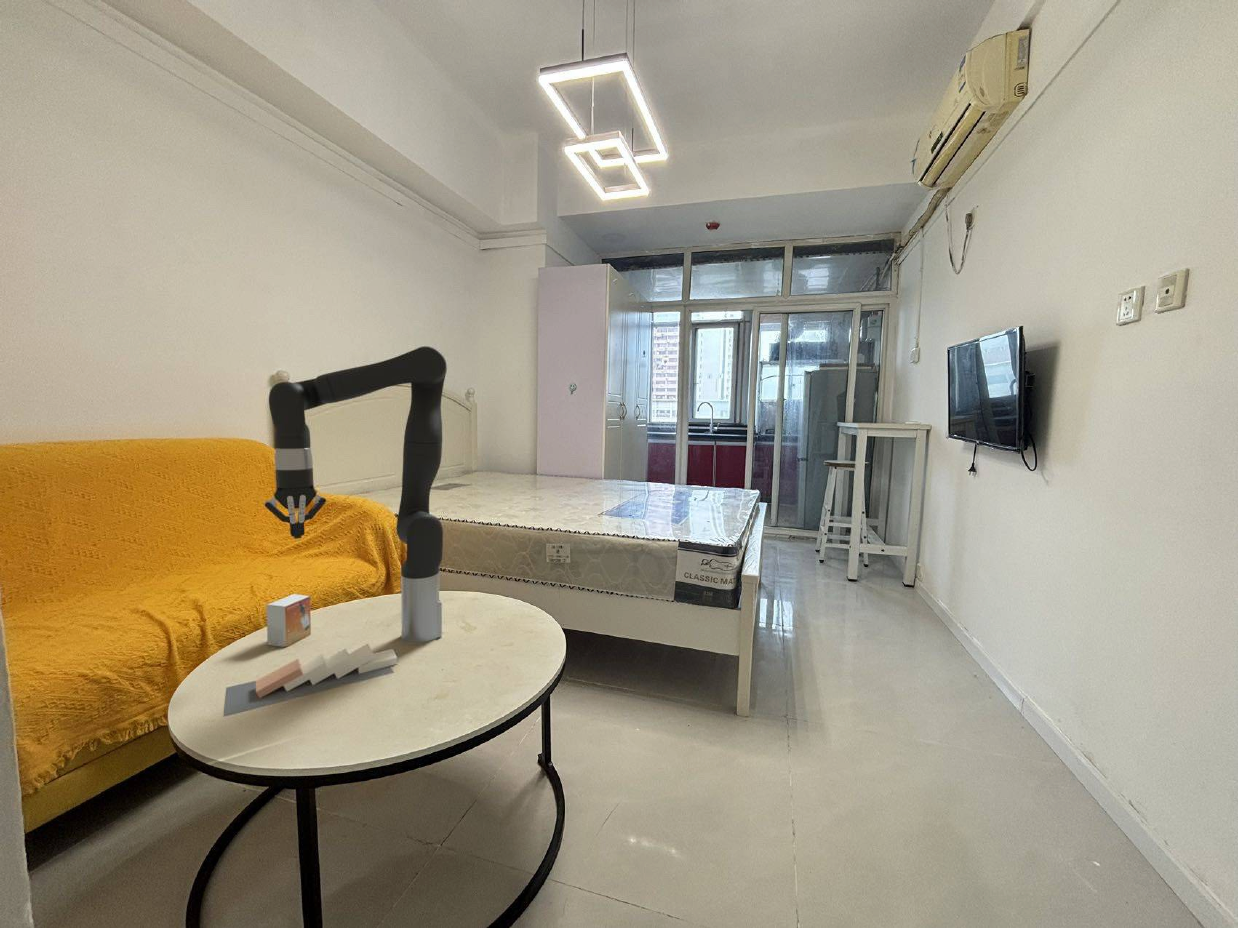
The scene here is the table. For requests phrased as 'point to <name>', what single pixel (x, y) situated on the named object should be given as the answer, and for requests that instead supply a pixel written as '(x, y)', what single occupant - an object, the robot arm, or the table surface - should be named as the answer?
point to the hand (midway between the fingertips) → (297, 537)
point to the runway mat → (248, 699)
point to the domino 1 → (278, 678)
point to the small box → (288, 620)
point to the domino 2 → (309, 671)
